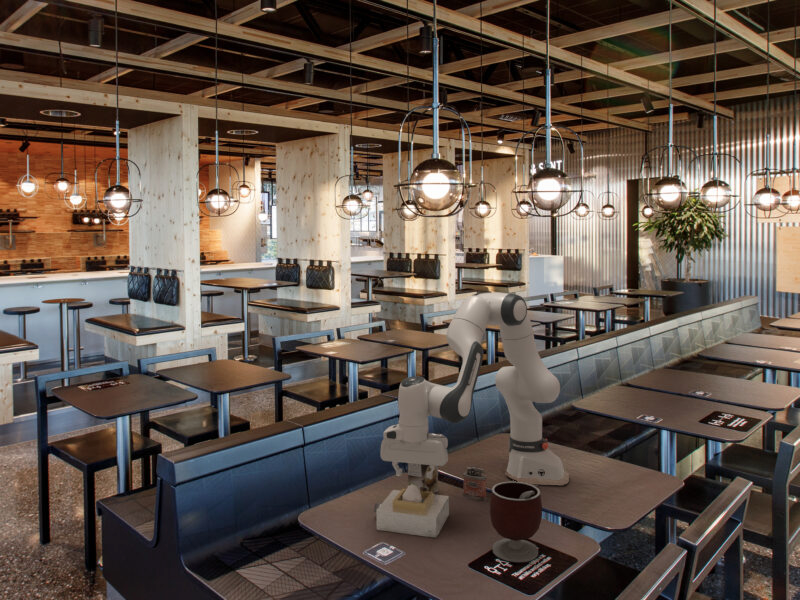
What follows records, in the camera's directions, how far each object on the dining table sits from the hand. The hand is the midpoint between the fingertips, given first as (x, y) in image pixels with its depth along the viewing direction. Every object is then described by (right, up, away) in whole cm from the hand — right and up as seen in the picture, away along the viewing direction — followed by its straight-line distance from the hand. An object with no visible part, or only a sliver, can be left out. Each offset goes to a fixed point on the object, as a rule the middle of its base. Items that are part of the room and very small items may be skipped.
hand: (414, 476), depth 192 cm
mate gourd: (+27, -16, -18) cm, 36 cm away
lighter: (+20, -12, +20) cm, 31 cm away
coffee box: (+3, -12, +23) cm, 26 cm away
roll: (-1, -14, +2) cm, 14 cm away
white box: (-2, -14, +2) cm, 14 cm away
